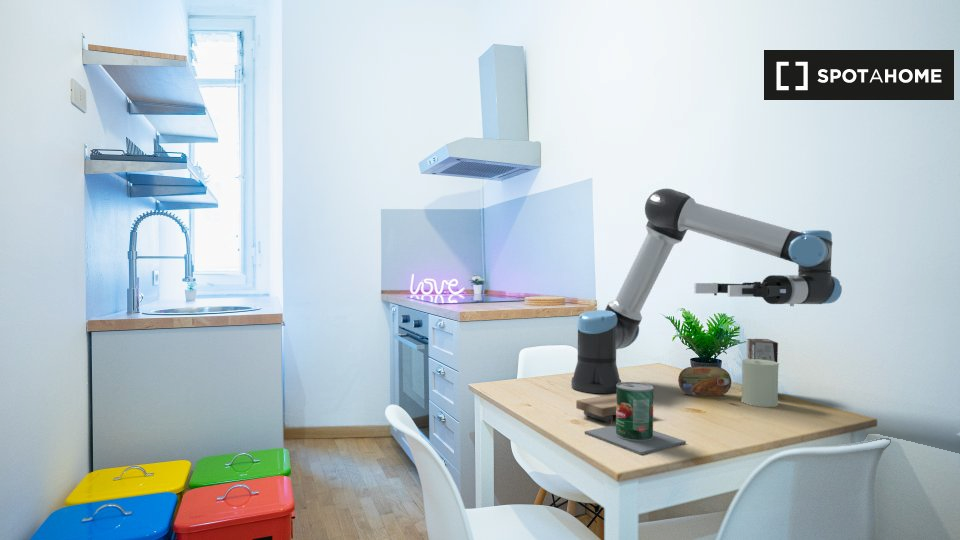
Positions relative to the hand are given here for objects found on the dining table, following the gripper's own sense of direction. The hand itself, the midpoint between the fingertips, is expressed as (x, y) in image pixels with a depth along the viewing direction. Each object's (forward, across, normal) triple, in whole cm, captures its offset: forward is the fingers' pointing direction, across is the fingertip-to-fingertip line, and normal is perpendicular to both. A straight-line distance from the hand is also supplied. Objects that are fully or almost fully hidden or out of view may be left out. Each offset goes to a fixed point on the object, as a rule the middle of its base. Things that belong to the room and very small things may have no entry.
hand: (710, 289), depth 140 cm
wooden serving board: (+25, +4, -32) cm, 41 cm away
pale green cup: (-22, +9, -32) cm, 40 cm away
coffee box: (-31, +18, -32) cm, 48 cm away
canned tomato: (+28, -14, -32) cm, 44 cm away
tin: (-13, +20, -32) cm, 40 cm away
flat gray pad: (+28, -14, -32) cm, 45 cm away
